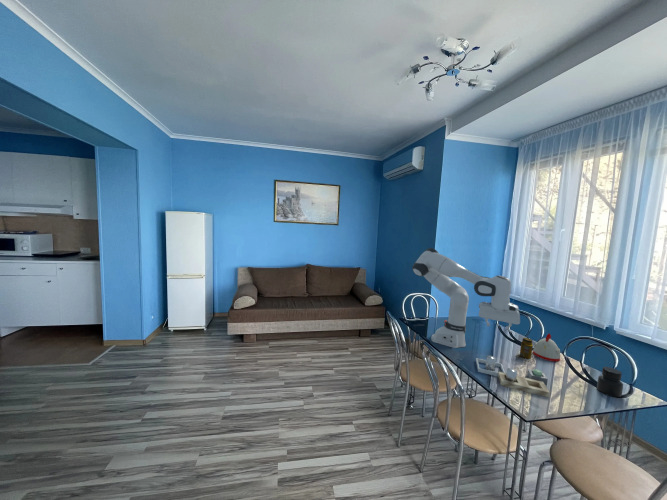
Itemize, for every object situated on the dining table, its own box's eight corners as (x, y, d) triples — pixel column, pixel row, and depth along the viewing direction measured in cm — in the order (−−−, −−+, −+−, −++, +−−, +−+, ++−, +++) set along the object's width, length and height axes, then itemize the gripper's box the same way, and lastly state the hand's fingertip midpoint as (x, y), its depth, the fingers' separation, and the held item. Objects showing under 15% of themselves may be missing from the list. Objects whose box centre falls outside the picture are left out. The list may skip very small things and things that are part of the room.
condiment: (533, 358, 170) (536, 340, 169) (528, 361, 166) (530, 342, 165) (520, 353, 176) (523, 335, 175) (515, 356, 172) (517, 338, 171)
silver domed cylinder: (506, 384, 138) (507, 371, 138) (504, 379, 142) (506, 367, 142) (516, 386, 136) (518, 373, 136) (514, 382, 141) (516, 369, 140)
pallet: (500, 386, 137) (501, 381, 137) (497, 376, 146) (498, 371, 146) (548, 398, 129) (549, 392, 129) (542, 387, 138) (543, 381, 138)
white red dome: (529, 354, 176) (532, 332, 175) (536, 349, 184) (539, 328, 183) (556, 363, 165) (559, 340, 164) (562, 357, 174) (565, 335, 172)
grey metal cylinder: (486, 370, 151) (487, 358, 151) (485, 366, 155) (486, 354, 155) (494, 372, 150) (496, 360, 149) (493, 368, 154) (495, 356, 153)
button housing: (530, 382, 142) (531, 375, 142) (527, 375, 149) (527, 369, 148) (546, 386, 139) (547, 378, 139) (542, 379, 146) (543, 372, 145)
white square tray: (477, 372, 149) (478, 368, 149) (475, 361, 161) (476, 358, 161) (505, 379, 144) (506, 374, 144) (501, 367, 156) (501, 363, 156)
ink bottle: (627, 397, 133) (631, 374, 132) (613, 399, 131) (617, 376, 130) (603, 386, 143) (607, 364, 142) (591, 387, 141) (594, 365, 140)
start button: (533, 377, 143) (534, 371, 143) (531, 373, 146) (532, 368, 146) (542, 379, 141) (543, 373, 141) (540, 375, 145) (541, 370, 145)
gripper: (478, 302, 155) (476, 325, 157) (521, 309, 144) (518, 334, 146) (479, 299, 161) (477, 322, 162) (521, 306, 150) (518, 330, 151)
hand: (497, 327), depth 154 cm, fingers open, 8 cm apart
